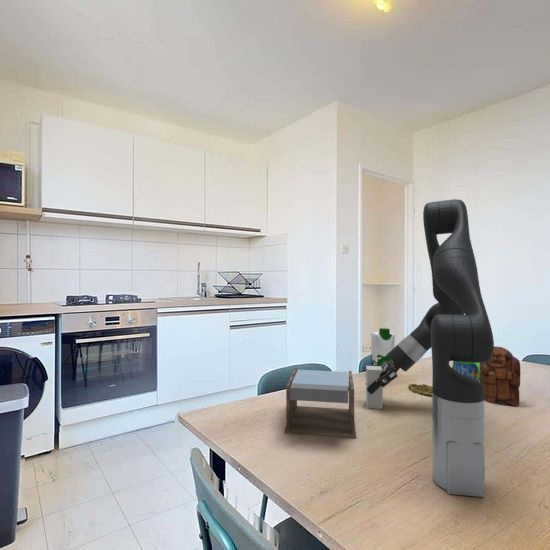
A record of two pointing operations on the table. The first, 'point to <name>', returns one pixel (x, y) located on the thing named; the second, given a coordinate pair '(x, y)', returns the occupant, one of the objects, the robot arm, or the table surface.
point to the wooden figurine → (501, 378)
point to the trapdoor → (320, 386)
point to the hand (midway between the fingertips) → (368, 389)
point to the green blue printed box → (468, 369)
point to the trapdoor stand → (320, 416)
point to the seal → (421, 389)
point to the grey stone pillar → (377, 397)
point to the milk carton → (381, 346)
